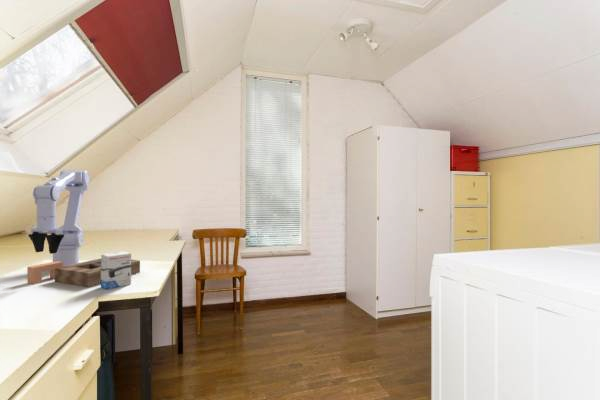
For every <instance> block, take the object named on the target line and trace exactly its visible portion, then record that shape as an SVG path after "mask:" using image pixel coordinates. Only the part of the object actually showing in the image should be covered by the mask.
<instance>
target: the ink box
mask: <svg viewBox="0 0 600 400" xmlns="http://www.w3.org/2000/svg"><path fill="white" fill-rule="evenodd" d="M100 259H101V284H100V287H101V288H103V289H104V290H110V289H114V288H119V287H123V286H124V287H125V286H129V285H131V284H132V275H131V260H132V253H130V252H128V251H127V250H126V251H117V252H108V253H102V254H101V258H100Z"/></svg>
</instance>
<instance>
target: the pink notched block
mask: <svg viewBox="0 0 600 400" xmlns="http://www.w3.org/2000/svg"><path fill="white" fill-rule="evenodd" d="M58 267H63V262H59V261H55V262H53V261H51V262H46V263H40V264H35V265H30V266H27V270H26V271H27V284H31V285H37V284H40V283H42V277H43V276H42V272H46V271H49V278H50V279H54V280H55V268H58Z"/></svg>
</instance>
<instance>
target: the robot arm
mask: <svg viewBox="0 0 600 400" xmlns="http://www.w3.org/2000/svg"><path fill="white" fill-rule="evenodd" d="M90 179H91V177H90V173H89V172H88V170H80V169H78V170H77V169H76V170H75V169H62V170H60V173H59V176H58V177H55V176H54V177H51V179H50V180H49V181H47V182H46V183H44V184H39V185H37V186H35V187H33V192H32V196H33V199H34V205H36V227H30V234H28V238H29V239H30V240H31V242H32V245H33V248H34V250H35V253H41V252H44V249H45V242H46V241H47V244H48V252H49V254H51V255H52V262H55V261H59V262H63V266H68V265H72V264H77V263H80V261H79V260H80V259H79V258H80V256H79V255H80V254H79V251H80V249H79V248H81V246H82V245H83V244H84V239H85V238H84V230H83V229H82V228H81V227H80V226H78V224H79V219H80V214H81V213H80V212H81V208H82V203H83V197H84V193H85V191H87V190H88V189H89V185H90ZM64 190H66V191H68V192H69V197H68V202H67V206H66V212H65V217H64V222H63V225H62V226H61V225H60V226H59V227H57V201H59V198H60V195H61V193H62V192H63V191H64Z"/></svg>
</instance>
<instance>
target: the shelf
mask: <svg viewBox="0 0 600 400" xmlns="http://www.w3.org/2000/svg"><path fill="white" fill-rule="evenodd" d="M138 272H139V273H141V261H140V260H138V259H131V276H132V275H135V274H139V273H138ZM54 282H56V283H62V284H68V285H74V286H79V287H86V288H91V287H94V286H95V287H96V286H99V285H101V258H97V259H94V260H93V259H91V260H88V261H83V262H79V263H77V264H72V265H68V266H63V267H58V268H55V279H54Z"/></svg>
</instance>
